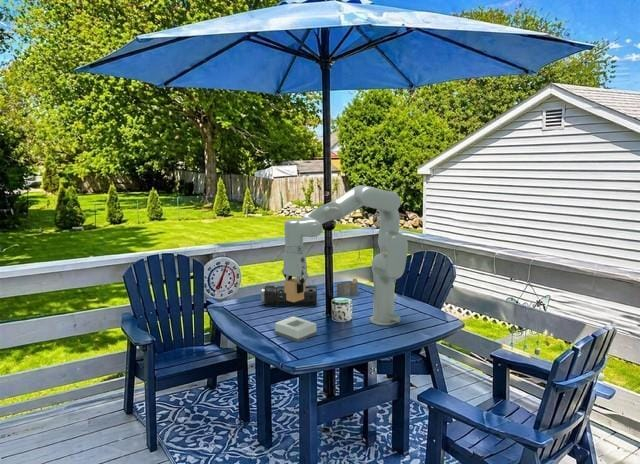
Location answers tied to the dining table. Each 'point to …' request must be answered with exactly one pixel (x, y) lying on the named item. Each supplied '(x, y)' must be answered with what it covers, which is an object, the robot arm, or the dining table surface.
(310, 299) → the muzzle brake
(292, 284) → the plug
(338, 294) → the ruin model on sheet
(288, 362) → the dining table surface
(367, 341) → the dining table surface
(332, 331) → the dining table surface
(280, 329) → the socket block
